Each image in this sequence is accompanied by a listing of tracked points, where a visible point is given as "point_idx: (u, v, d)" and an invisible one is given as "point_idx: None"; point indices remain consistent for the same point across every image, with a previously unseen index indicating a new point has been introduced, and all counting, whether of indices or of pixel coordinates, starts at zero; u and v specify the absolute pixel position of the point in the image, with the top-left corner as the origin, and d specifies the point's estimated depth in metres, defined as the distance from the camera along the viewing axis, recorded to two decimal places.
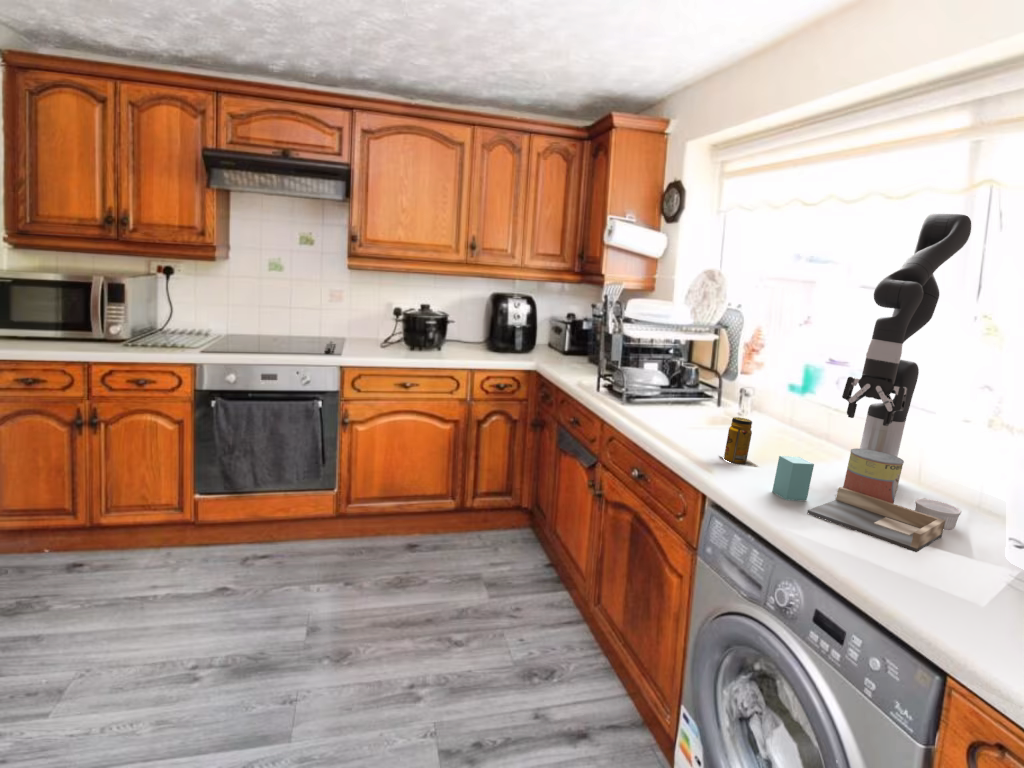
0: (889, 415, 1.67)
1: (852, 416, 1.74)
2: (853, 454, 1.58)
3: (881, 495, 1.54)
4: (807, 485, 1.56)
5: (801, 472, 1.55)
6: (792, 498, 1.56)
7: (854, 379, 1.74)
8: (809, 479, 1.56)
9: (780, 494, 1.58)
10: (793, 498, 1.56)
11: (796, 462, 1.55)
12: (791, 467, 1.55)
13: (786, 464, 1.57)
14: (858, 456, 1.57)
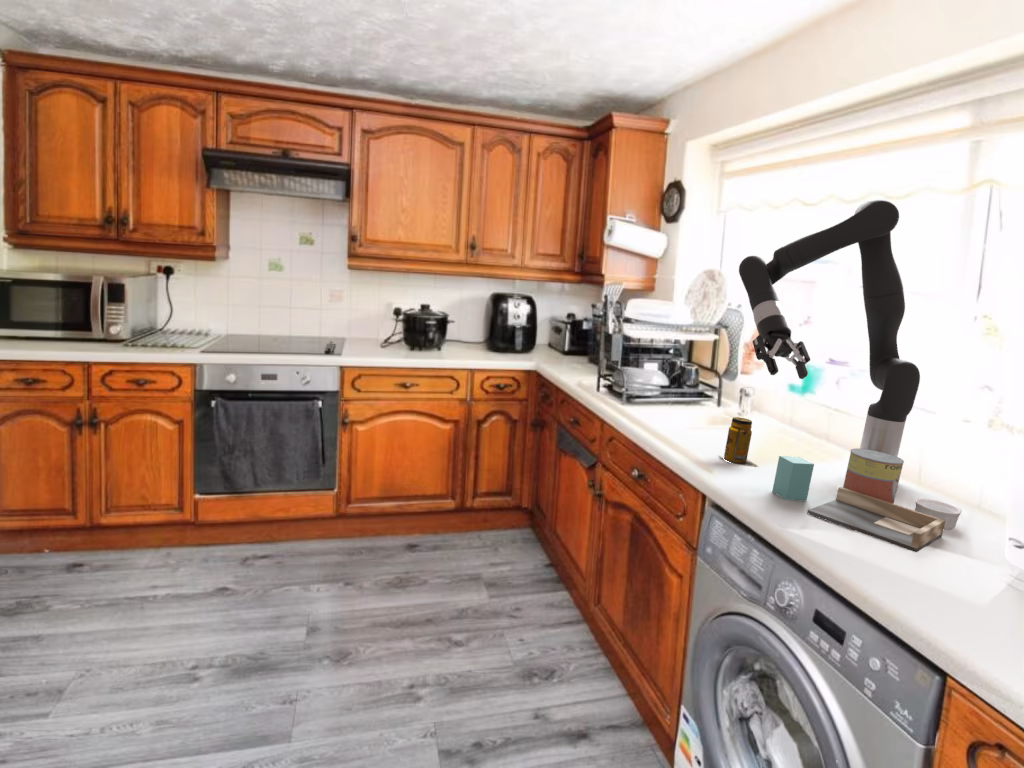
0: None
1: (802, 375, 1.65)
2: (853, 454, 1.58)
3: (881, 495, 1.54)
4: (807, 485, 1.56)
5: (801, 472, 1.55)
6: (792, 498, 1.56)
7: None
8: (809, 479, 1.56)
9: (780, 494, 1.58)
10: (793, 498, 1.56)
11: (796, 462, 1.55)
12: (791, 467, 1.55)
13: (786, 464, 1.57)
14: (858, 456, 1.57)
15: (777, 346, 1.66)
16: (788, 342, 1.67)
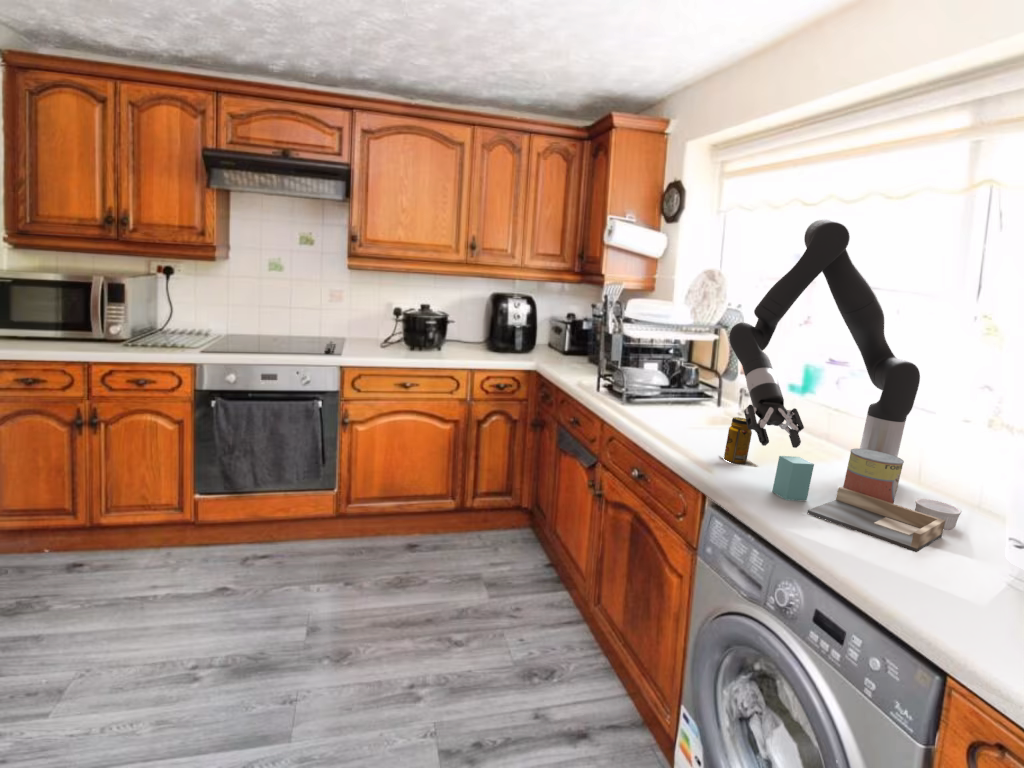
0: None
1: (795, 444, 1.64)
2: (853, 454, 1.58)
3: (881, 495, 1.54)
4: (807, 485, 1.56)
5: (801, 472, 1.55)
6: (792, 498, 1.56)
7: None
8: (809, 479, 1.56)
9: (780, 494, 1.58)
10: (793, 498, 1.56)
11: (796, 462, 1.55)
12: (791, 467, 1.55)
13: (786, 464, 1.57)
14: (858, 456, 1.57)
15: (768, 415, 1.65)
16: (780, 410, 1.67)
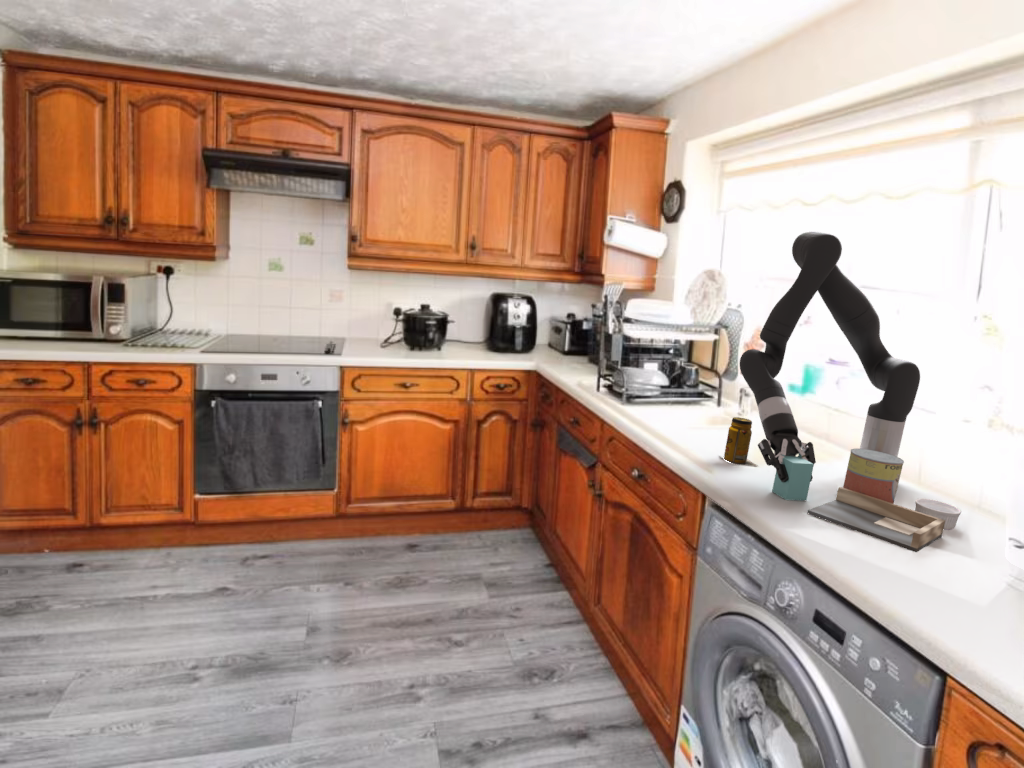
0: None
1: None
2: (853, 454, 1.58)
3: (881, 495, 1.54)
4: (807, 485, 1.56)
5: (801, 472, 1.55)
6: (792, 498, 1.56)
7: None
8: (809, 479, 1.56)
9: (780, 494, 1.58)
10: (793, 498, 1.56)
11: (796, 462, 1.55)
12: (791, 467, 1.55)
13: (786, 464, 1.57)
14: (858, 456, 1.57)
15: (784, 448, 1.59)
16: (794, 442, 1.60)
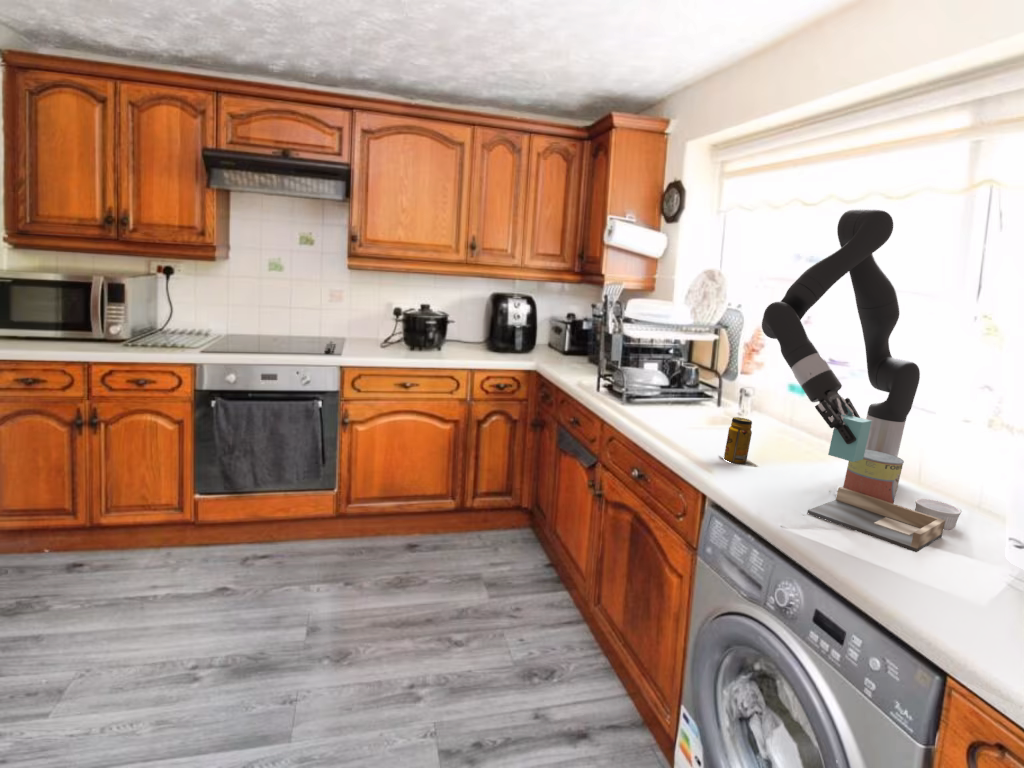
0: None
1: None
2: None
3: (881, 495, 1.54)
4: (865, 443, 1.50)
5: (864, 431, 1.48)
6: (856, 459, 1.48)
7: None
8: (867, 437, 1.50)
9: (843, 456, 1.49)
10: (857, 459, 1.48)
11: (861, 421, 1.47)
12: (858, 427, 1.46)
13: (849, 424, 1.48)
14: None
15: (841, 408, 1.50)
16: (843, 400, 1.52)
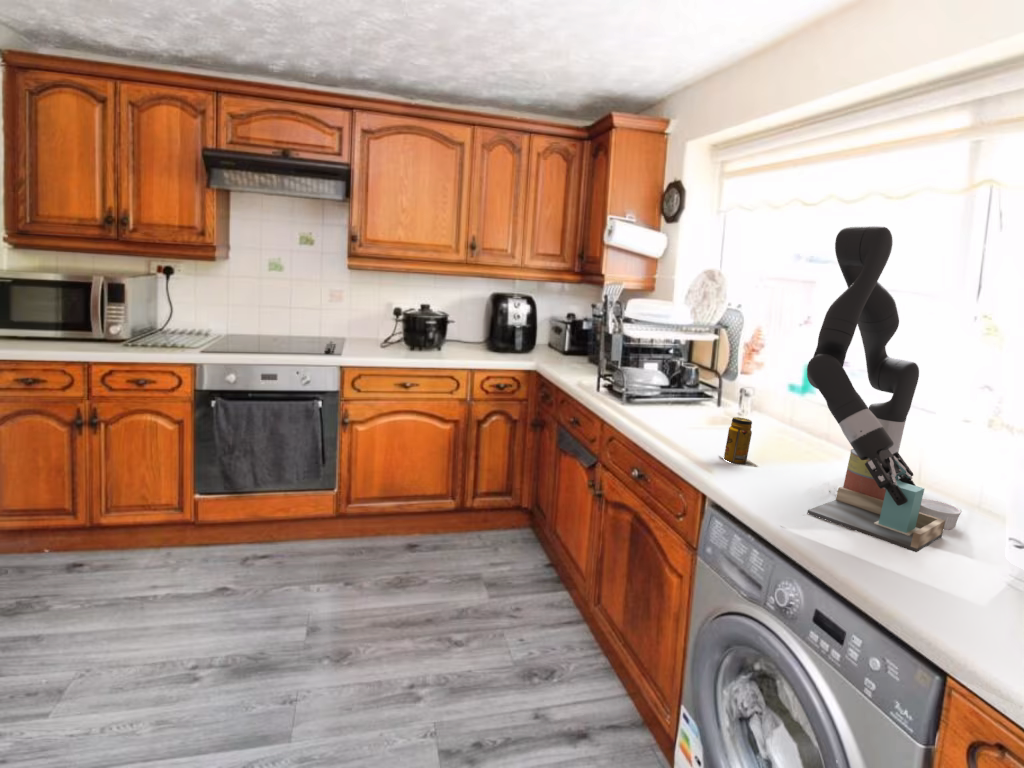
0: None
1: None
2: (853, 454, 1.58)
3: (881, 495, 1.54)
4: (918, 512, 1.42)
5: (917, 500, 1.40)
6: (909, 529, 1.41)
7: None
8: (920, 505, 1.42)
9: (895, 526, 1.41)
10: (909, 529, 1.41)
11: (914, 490, 1.39)
12: (912, 496, 1.39)
13: None
14: (858, 456, 1.57)
15: (893, 468, 1.42)
16: (896, 459, 1.45)
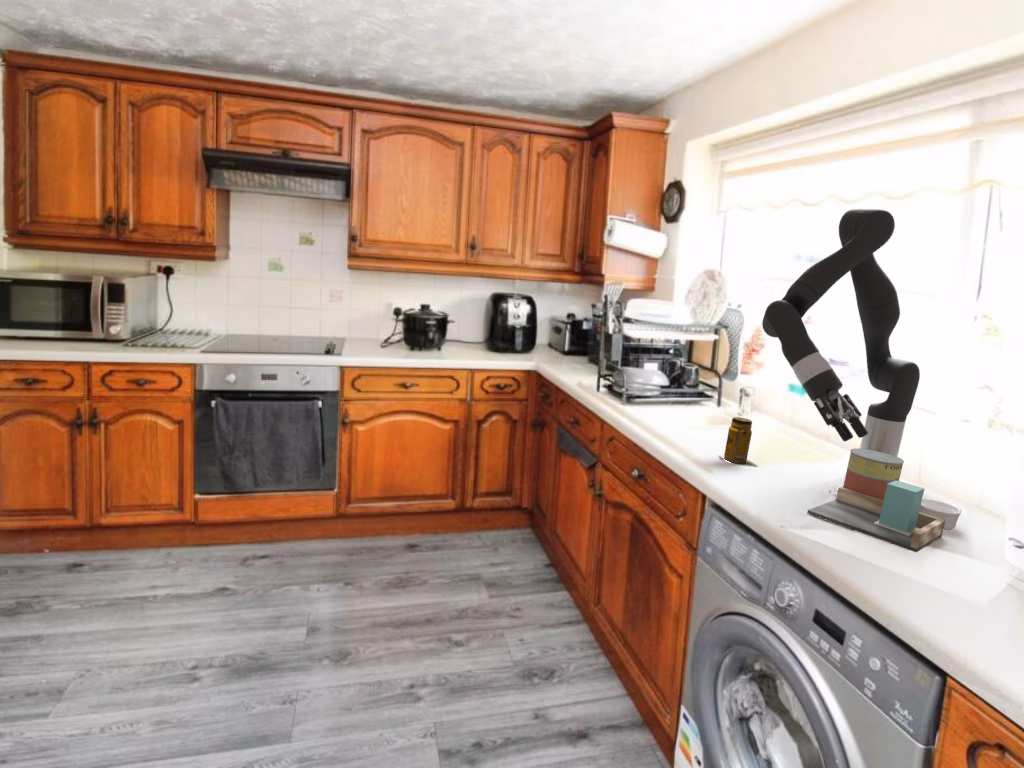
0: None
1: (862, 434, 1.52)
2: (853, 454, 1.58)
3: (881, 495, 1.54)
4: (918, 512, 1.42)
5: (917, 500, 1.40)
6: (909, 529, 1.41)
7: None
8: (920, 505, 1.42)
9: (895, 526, 1.41)
10: (909, 529, 1.41)
11: (914, 490, 1.39)
12: (912, 496, 1.39)
13: (902, 493, 1.40)
14: (858, 456, 1.57)
15: (840, 407, 1.49)
16: (844, 399, 1.52)
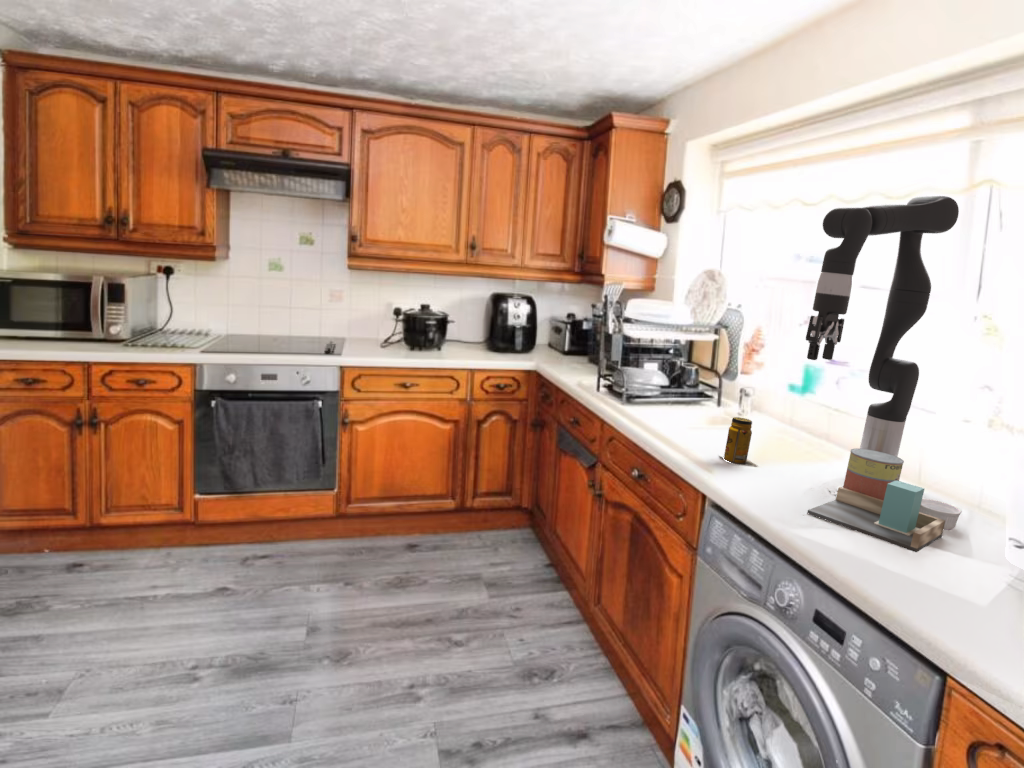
0: None
1: (826, 357, 1.66)
2: (853, 454, 1.58)
3: (881, 495, 1.54)
4: (918, 512, 1.42)
5: (917, 500, 1.40)
6: (909, 529, 1.41)
7: None
8: (920, 505, 1.42)
9: (895, 526, 1.41)
10: (909, 529, 1.41)
11: (914, 490, 1.39)
12: (912, 496, 1.39)
13: (902, 493, 1.40)
14: (858, 456, 1.57)
15: (828, 331, 1.59)
16: (837, 325, 1.61)
